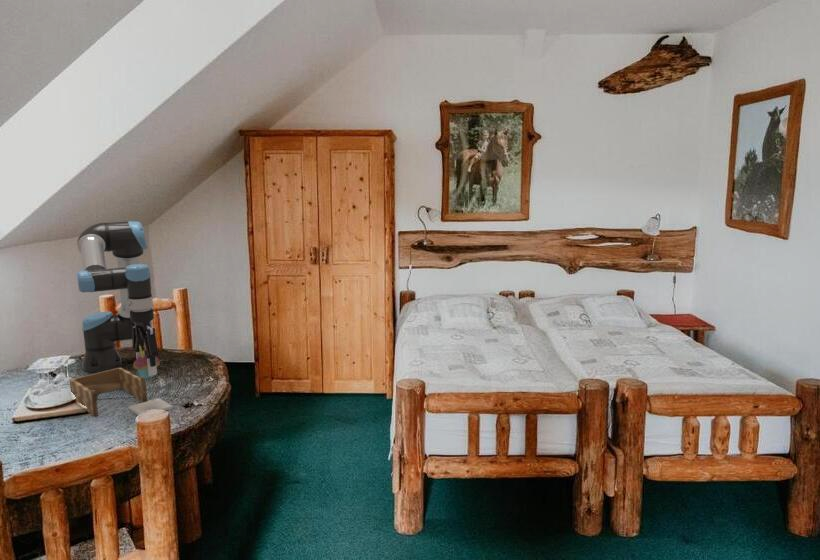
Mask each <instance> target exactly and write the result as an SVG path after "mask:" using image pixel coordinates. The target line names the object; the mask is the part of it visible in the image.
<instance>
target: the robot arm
mask: <svg viewBox="0 0 820 560" xmlns="http://www.w3.org/2000/svg"><path fill="white" fill-rule="evenodd" d="M147 244H148V243H147V239H146V236H145V231H144V227H143V224H142V223H141V222H139V221H130V220H128V221H116V222H115V221H113V222H112V221H111V222H98V223H94V224H91V225H90V226H89V227H87V228H85V229H84V230H83V231H82V232H81V233H80V235H79V237H78V238H77V249H78V251H79V253H81V261H82V262H81V263H82V270H80V271H78V272H77V273H76V275H77V286H78V291H79V292H81V293H95V292H96V293H97V292H105V291H117V290H119V295H120V307H119V308H118V309H117V314H113V312H112V311H107V310H106V311H100V312H95V313H93V314H89V315H87V316H85V317H84V318H83V319H82V323H81V324H82V333H83V342H84V350H85V351H84V355H83V360H82V365H81V367H82V370H83V372H85V373H99V372H103V371H107V370H111V369H115V368H119V367H121V366H122V365H123V364H122V363H123V362H122V358H121V356H120V354H119V351H118V349H117V347H116V342H123V341H124V342H125V341H129V340H131V341H132V349H133V350H134V352H135V357H136V359H137V358H139V357H141V352H140V348H139V344H140V346H141V348H142V352H143V356H146V355H148V357H146V358H147V364H148V375H149V376H152V375H154V376H156V375H158V370H157V369H158V366H157V367H156V357H158V356H160V354H159V349H158V343H157V337H156V328H155V327H152V320H154V319H155V316H154V309H153V308H154V300H153V293H152V282H151V271H150V266H149V265H148V264H146V263H145V264H143V263H141V257H142V255H144V250H147V249H148V246H147ZM105 252H107V253H108V252H109V253H110V252H112V256H113V257H115V258H116V260H117V267H116V268H107V264H106V258H105V257H106V256H105ZM144 346H145V347H144ZM145 350H146V352H145ZM145 353H146V354H145ZM152 377H153V376H152Z"/></svg>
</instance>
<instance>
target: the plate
mask: <svg viewBox="0 0 820 560" xmlns="http://www.w3.org/2000/svg"><path fill="white" fill-rule="evenodd" d="M173 407H174V406H173V405H172V404H171V403H168V402H167V401H165V400H164V399H162V398H160V397H158V398H155V399H154V398H153V399H150V400H147V402H143V401H142V402H140V403H137V404H133V405H130V406H128V410H129V411H131V412H132V413H134V414H135V415H137V416H138V414H140V413H142V412H144V411H147V410H151V409H163V410H167V411H169V410H172V409H173Z"/></svg>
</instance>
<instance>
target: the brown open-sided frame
mask: <svg viewBox="0 0 820 560" xmlns="http://www.w3.org/2000/svg"><path fill="white" fill-rule="evenodd" d="M69 387H70V393H71V392H72V393H73V394H74V395H75V397H76V401H77V402H79V403H81V404H82V405H84V406H86V407H87V409H88V411H87V412H88V413H89V414H90V415H92V416H93V417H94V418H95V417H98V416H99V410H98V402H97V401H98V400H97V395H100V394H104V393H108V392H111V391H115V390H119V389H121V390H123V391H124V392H126V393H127V394H130V395H131V396H133V397H134V398H136V399H137V400H139V401H141V402H142V403H143V402H147V401H148V391H147V382H146V378H142V377H140V376H137V375H136V374H133V373H132V372H130V371H128V370H126V369H125V368H123V367H121V366H120V367H118V368H115V369H111V370H107V371H103V372H93V373H91V374H86V375H83V376H78V377H75V378H70V379H69Z"/></svg>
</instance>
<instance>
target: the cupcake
mask: <svg viewBox="0 0 820 560" xmlns="http://www.w3.org/2000/svg"><path fill="white" fill-rule="evenodd" d="M139 348H140V352H141V357H139V358H136V359H135V360H134V361H133V365H132V366H133V369H135V370H137V372H138V375H139V378H145V379H146V378H147V379H149V378H152V377H154V376H155V375H152V376H149V375H148V364H147V358H146V357H148V354H145V356H143V352H142V351H143V350H142V348H141V346H140V344H139ZM160 363H161V362H160V359H159V358H158V356H156V367H157V368H158V367H159V366H160Z"/></svg>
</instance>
